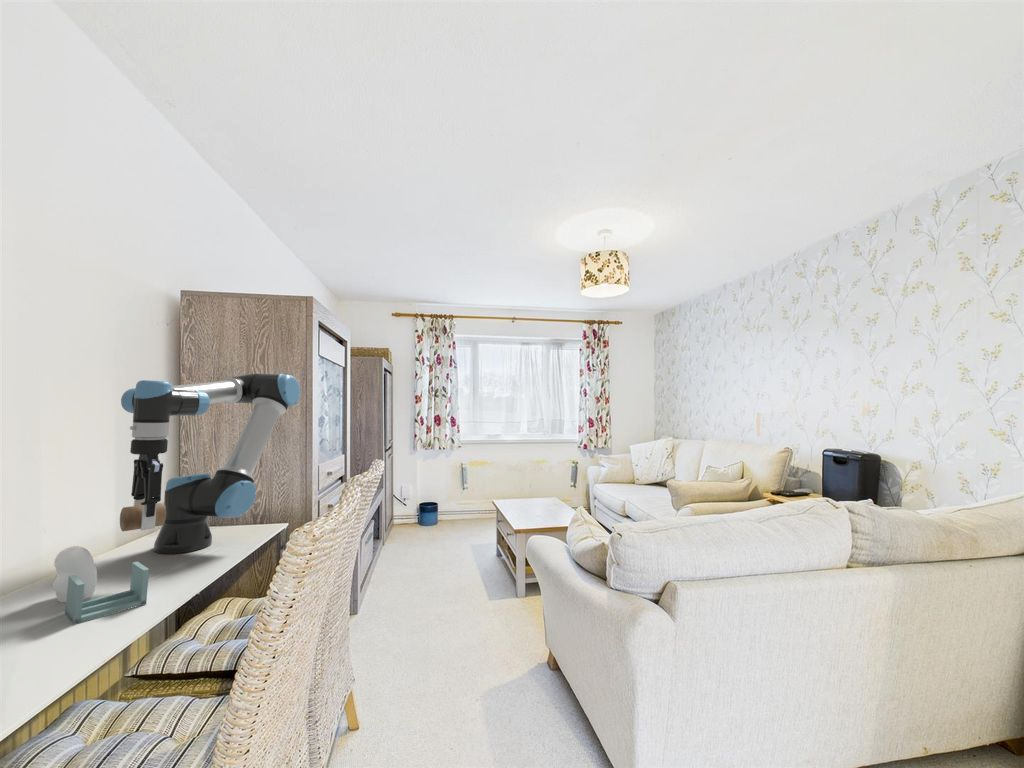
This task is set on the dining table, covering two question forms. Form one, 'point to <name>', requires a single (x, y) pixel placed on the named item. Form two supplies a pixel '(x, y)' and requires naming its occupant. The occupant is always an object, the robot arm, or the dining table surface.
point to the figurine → (74, 571)
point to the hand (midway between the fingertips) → (143, 526)
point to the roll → (139, 517)
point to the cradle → (106, 597)
